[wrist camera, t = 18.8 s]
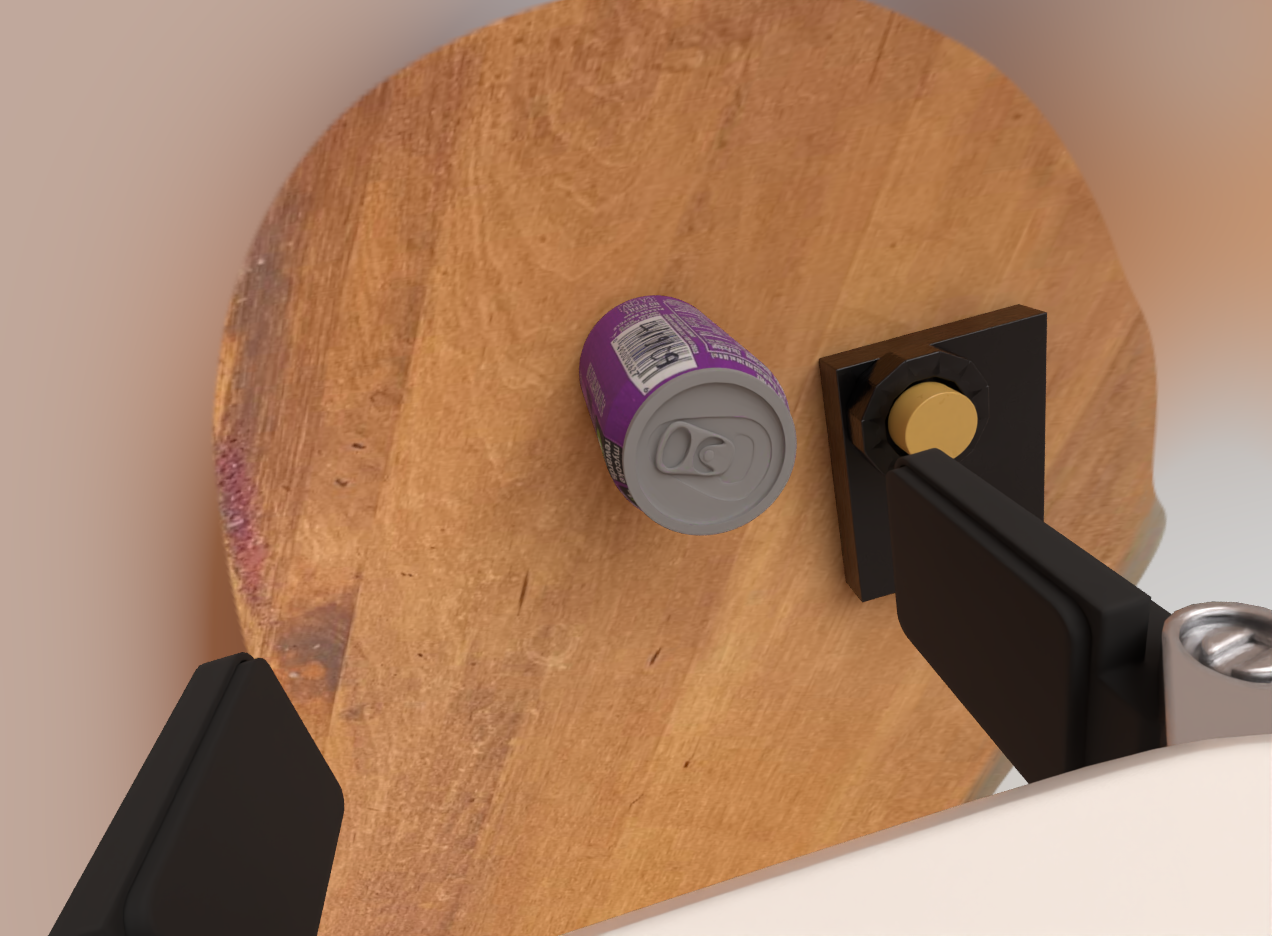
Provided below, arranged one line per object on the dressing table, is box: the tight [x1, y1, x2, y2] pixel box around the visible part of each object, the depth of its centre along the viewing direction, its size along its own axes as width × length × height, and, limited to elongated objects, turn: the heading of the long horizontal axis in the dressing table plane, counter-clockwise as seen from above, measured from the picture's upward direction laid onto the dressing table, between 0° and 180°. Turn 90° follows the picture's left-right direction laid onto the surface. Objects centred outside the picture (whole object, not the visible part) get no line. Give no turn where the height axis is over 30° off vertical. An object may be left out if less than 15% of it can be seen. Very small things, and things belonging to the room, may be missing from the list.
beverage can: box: [579, 295, 797, 535], centre depth 31 cm, size 7×7×12 cm
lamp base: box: [819, 304, 1047, 602], centre depth 39 cm, size 14×11×4 cm
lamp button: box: [888, 382, 977, 459], centre depth 35 cm, size 4×4×2 cm
